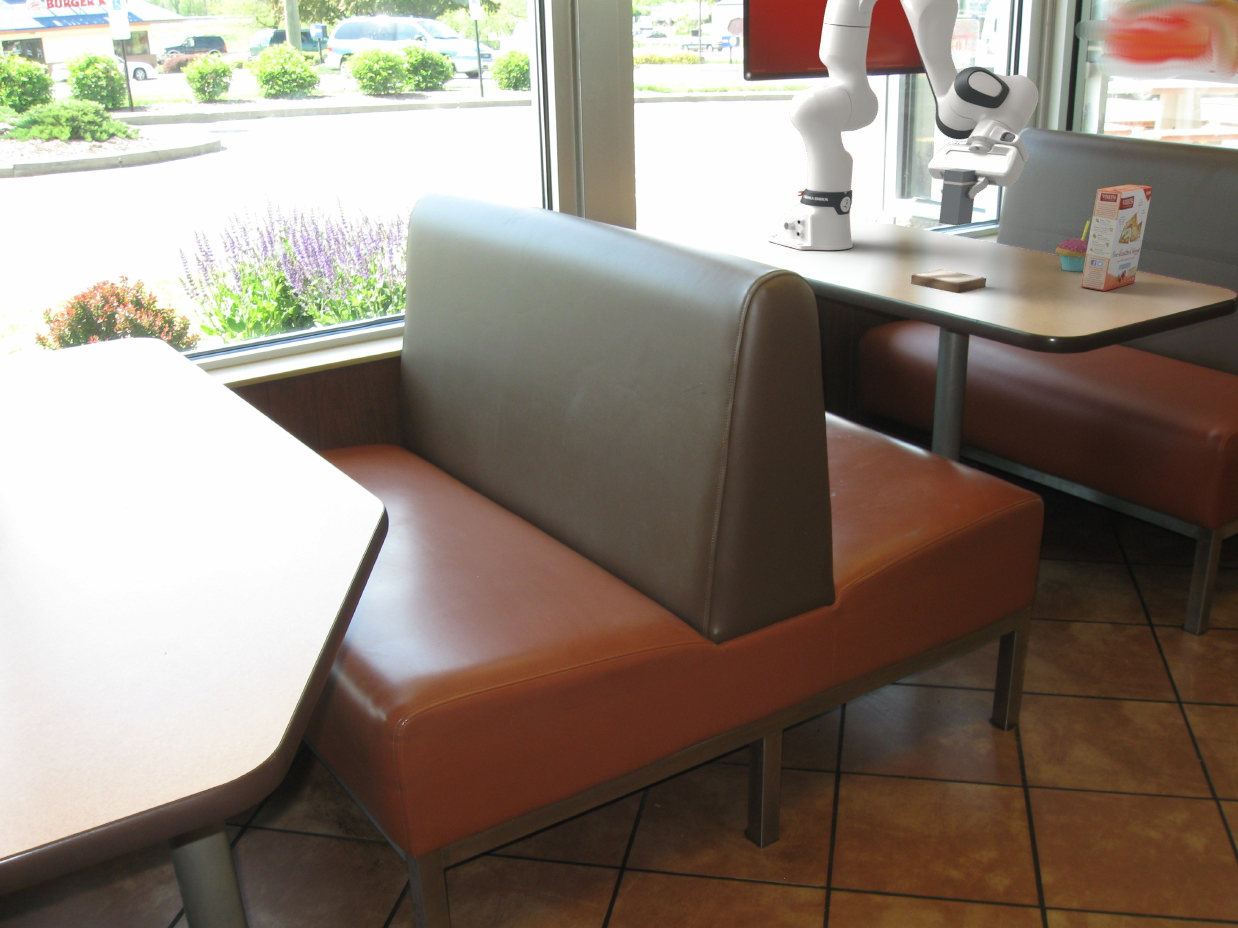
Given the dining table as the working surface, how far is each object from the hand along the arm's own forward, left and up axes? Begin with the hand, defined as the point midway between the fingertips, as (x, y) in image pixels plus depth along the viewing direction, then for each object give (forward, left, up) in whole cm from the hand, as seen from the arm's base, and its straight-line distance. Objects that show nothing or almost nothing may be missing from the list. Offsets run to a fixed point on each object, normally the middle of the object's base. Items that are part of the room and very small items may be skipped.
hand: (956, 195), depth 230 cm
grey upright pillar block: (0, +1, -6) cm, 6 cm away
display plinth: (0, +1, -19) cm, 19 cm away
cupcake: (+8, +38, -19) cm, 43 cm away
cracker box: (+22, +28, -19) cm, 40 cm away
